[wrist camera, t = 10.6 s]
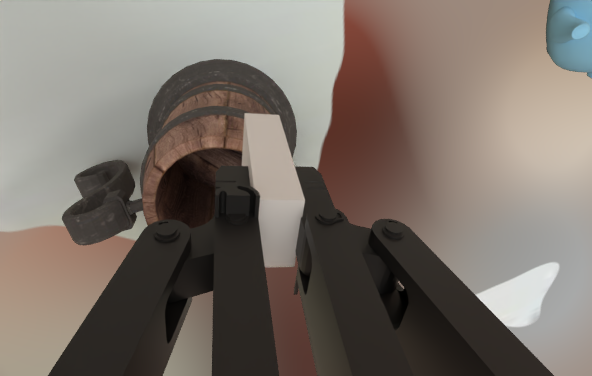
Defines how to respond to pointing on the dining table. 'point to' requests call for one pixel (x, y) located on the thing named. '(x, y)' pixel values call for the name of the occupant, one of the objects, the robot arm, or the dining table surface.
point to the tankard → (180, 151)
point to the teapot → (570, 34)
